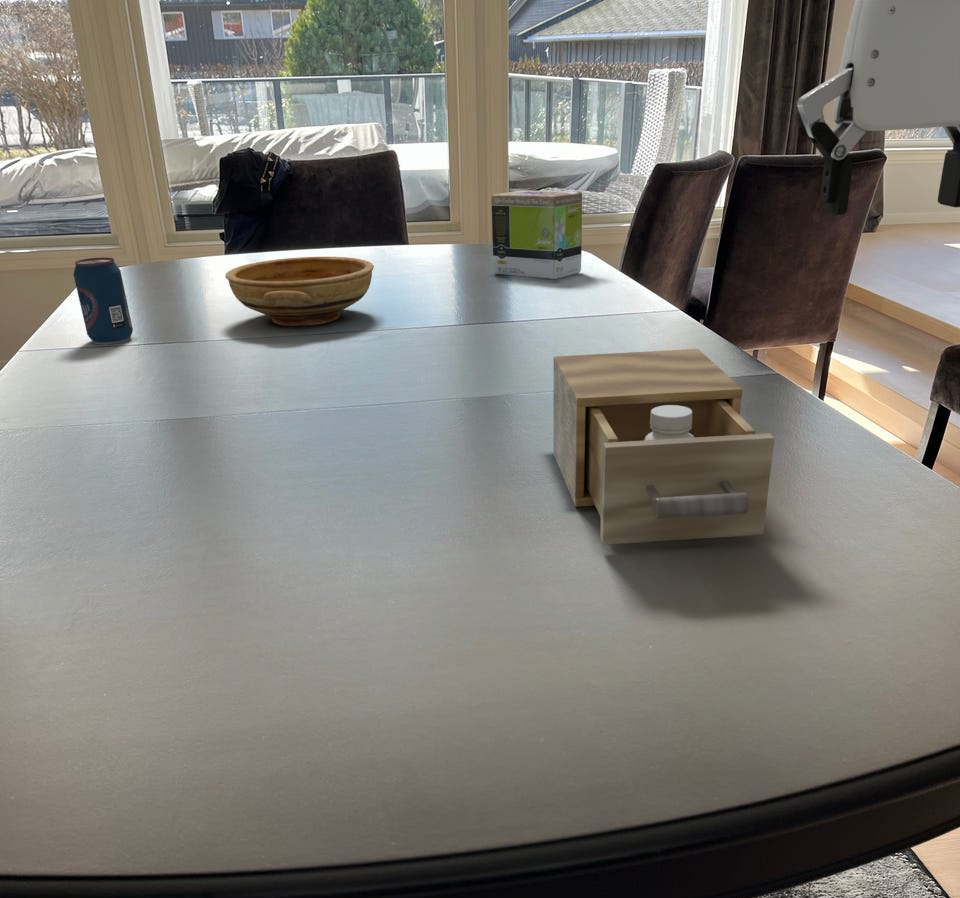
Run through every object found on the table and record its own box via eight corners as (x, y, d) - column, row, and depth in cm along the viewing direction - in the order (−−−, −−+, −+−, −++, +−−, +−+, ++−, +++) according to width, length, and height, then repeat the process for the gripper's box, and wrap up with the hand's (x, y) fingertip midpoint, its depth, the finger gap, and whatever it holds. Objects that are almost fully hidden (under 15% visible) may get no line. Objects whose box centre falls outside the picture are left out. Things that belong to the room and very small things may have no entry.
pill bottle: (652, 509, 83) (657, 421, 79) (633, 491, 87) (637, 406, 83) (700, 503, 84) (707, 415, 80) (679, 485, 88) (685, 400, 84)
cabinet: (731, 497, 90) (742, 388, 85) (575, 507, 89) (576, 398, 84) (690, 445, 103) (698, 348, 98) (553, 453, 102) (553, 356, 97)
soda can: (81, 341, 155) (62, 261, 149) (121, 333, 159) (104, 255, 153) (102, 347, 151) (83, 265, 145) (142, 339, 155) (126, 259, 149)
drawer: (783, 559, 76) (796, 458, 72) (613, 570, 76) (617, 469, 72) (716, 476, 92) (724, 389, 88) (576, 485, 92) (577, 398, 87)
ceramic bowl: (255, 302, 178) (249, 255, 173) (388, 298, 176) (384, 251, 172) (210, 341, 152) (201, 287, 148) (365, 337, 151) (360, 283, 147)
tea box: (582, 272, 192) (584, 190, 185) (553, 281, 185) (554, 196, 178) (521, 266, 200) (520, 187, 193) (491, 274, 194) (489, 193, 186)
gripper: (1017, -47, 75) (971, 198, 83) (795, -35, 74) (772, 210, 82) (1077, -59, 68) (1021, 207, 77) (834, -46, 67) (805, 221, 76)
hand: (892, 209), depth 79 cm, fingers open, 9 cm apart
